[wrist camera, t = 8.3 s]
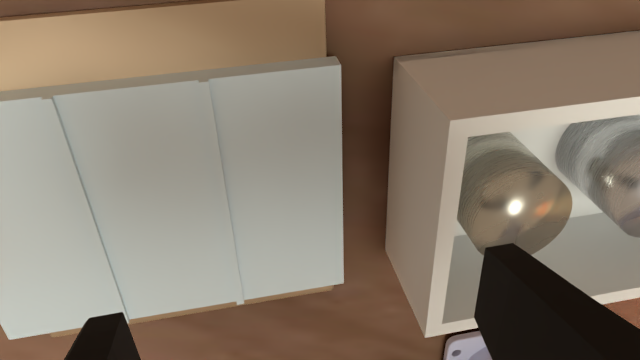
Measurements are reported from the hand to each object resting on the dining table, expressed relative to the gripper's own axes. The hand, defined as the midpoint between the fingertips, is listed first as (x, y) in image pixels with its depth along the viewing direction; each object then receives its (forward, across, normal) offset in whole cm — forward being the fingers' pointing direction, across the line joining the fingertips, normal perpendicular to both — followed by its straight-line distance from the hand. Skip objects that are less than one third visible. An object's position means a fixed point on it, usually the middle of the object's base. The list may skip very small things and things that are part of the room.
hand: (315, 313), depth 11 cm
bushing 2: (+9, -14, +3) cm, 17 cm away
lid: (+9, +4, +3) cm, 11 cm away
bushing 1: (+9, -8, +3) cm, 13 cm away
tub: (+10, -11, +3) cm, 15 cm away
